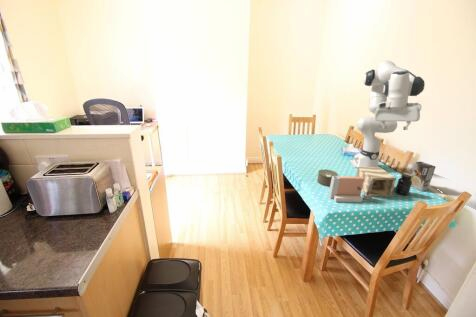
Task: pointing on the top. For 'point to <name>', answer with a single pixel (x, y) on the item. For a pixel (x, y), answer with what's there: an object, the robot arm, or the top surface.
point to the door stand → (347, 198)
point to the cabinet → (376, 182)
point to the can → (325, 177)
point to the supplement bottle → (403, 185)
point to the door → (345, 186)
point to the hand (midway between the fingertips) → (394, 129)
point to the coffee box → (422, 175)
